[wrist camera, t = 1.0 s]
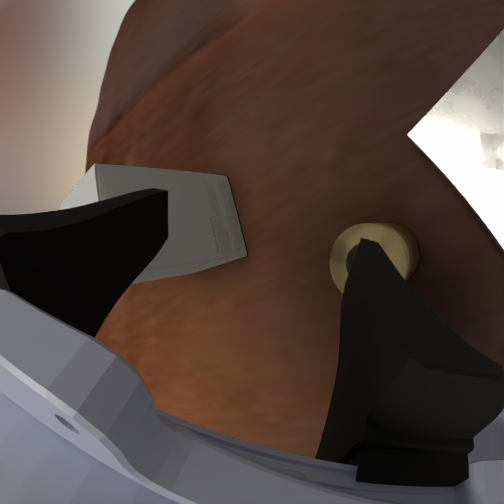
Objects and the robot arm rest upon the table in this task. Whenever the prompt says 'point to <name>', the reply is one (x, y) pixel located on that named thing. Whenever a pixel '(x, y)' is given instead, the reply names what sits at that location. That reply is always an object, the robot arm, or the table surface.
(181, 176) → the supplement box
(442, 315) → the table surface
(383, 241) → the bushing
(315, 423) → the table surface
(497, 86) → the jig
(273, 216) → the table surface
